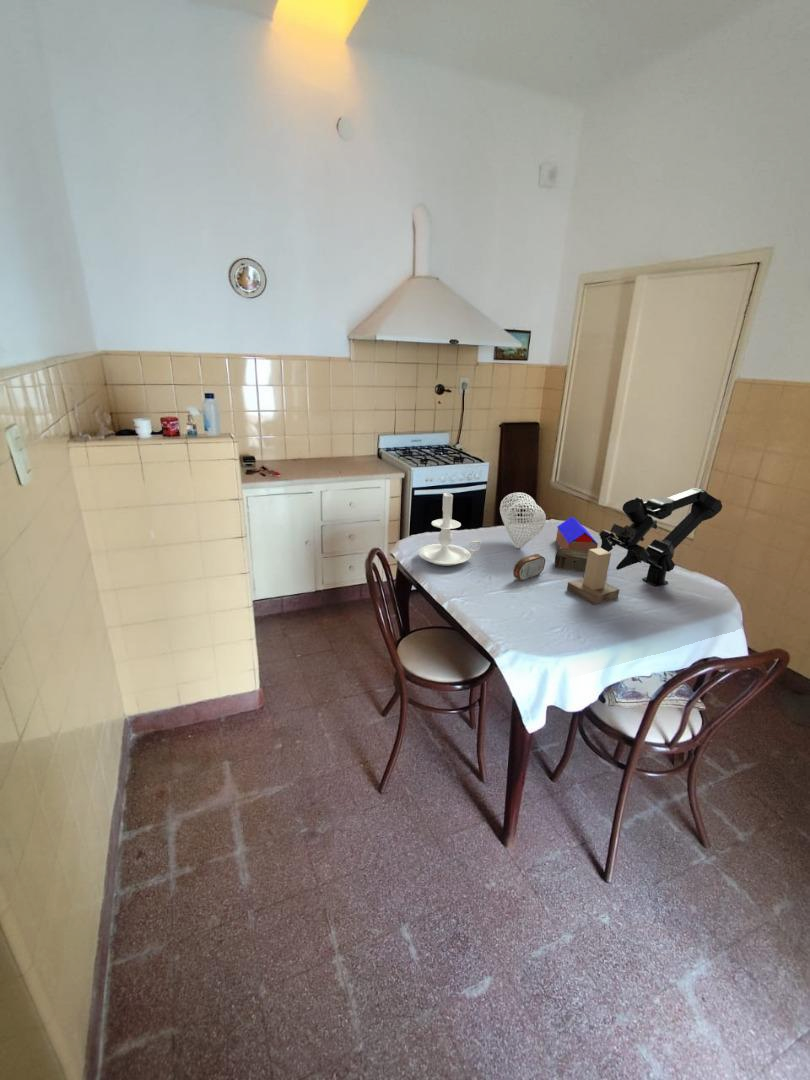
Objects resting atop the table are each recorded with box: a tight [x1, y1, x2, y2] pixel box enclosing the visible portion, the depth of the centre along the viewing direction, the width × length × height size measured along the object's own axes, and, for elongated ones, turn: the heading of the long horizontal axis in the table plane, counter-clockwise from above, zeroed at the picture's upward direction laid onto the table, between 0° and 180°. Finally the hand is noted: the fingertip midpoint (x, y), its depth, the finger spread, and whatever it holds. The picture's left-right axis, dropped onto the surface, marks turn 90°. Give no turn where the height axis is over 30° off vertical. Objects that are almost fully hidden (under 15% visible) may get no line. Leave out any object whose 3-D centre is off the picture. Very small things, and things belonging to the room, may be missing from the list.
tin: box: [512, 553, 546, 582], centre depth 181 cm, size 15×3×8 cm, turn 126°
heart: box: [499, 492, 547, 549], centre depth 205 cm, size 28×16×22 cm, turn 0°
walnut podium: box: [566, 577, 620, 606], centre depth 171 cm, size 12×12×3 cm
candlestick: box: [417, 492, 483, 567], centre depth 190 cm, size 21×25×28 cm
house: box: [555, 516, 599, 552], centre depth 207 cm, size 12×20×12 cm, turn 177°
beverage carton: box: [554, 547, 588, 573], centre depth 190 cm, size 8×19×7 cm, turn 73°
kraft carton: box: [583, 547, 612, 590], centre depth 168 cm, size 5×5×13 cm
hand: (606, 563), depth 169 cm, fingers open, 9 cm apart
